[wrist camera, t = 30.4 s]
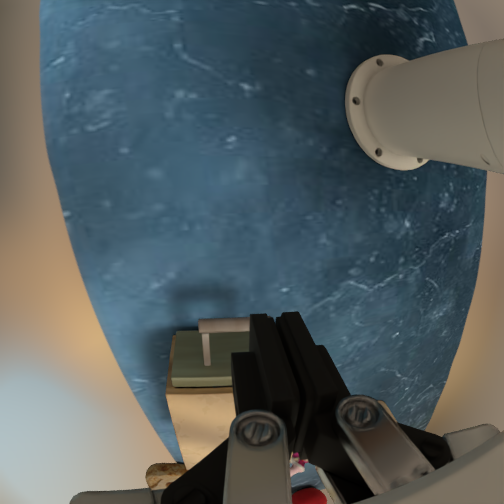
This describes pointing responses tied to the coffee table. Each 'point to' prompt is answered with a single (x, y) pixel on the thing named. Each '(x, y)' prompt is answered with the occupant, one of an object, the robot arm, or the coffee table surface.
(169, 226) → the coffee table surface
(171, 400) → the cabinet
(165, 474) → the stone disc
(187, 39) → the coffee table surface
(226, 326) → the drawer
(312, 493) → the apple
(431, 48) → the coffee table surface
